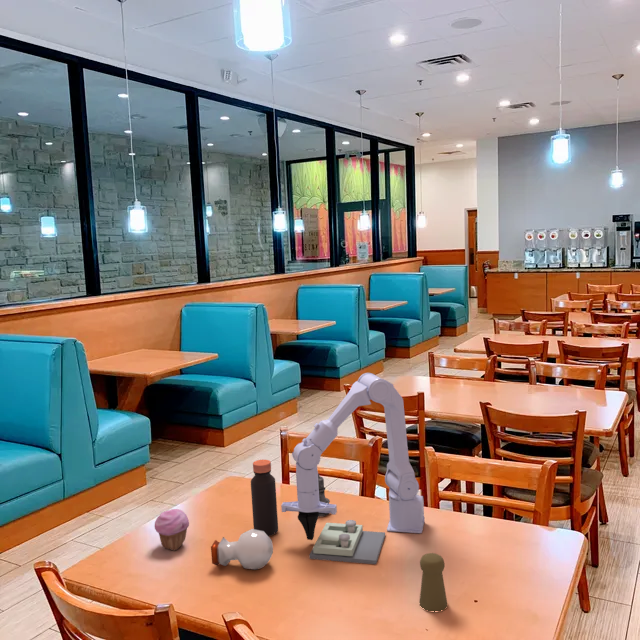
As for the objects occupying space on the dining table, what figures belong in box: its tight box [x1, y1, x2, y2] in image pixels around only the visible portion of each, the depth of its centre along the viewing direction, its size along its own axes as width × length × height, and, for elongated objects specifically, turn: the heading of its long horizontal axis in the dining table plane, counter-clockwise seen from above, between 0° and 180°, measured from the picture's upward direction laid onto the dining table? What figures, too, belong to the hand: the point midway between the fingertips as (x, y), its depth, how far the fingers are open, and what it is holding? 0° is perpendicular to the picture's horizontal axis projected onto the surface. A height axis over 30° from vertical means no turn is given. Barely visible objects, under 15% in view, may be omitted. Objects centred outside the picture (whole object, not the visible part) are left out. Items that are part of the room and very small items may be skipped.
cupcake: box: [154, 508, 190, 551], centre depth 166 cm, size 9×9×10 cm
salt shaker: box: [318, 473, 331, 518], centre depth 182 cm, size 6×6×12 cm
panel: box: [312, 522, 364, 556], centre depth 162 cm, size 10×14×2 cm
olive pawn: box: [419, 552, 448, 613], centre depth 133 cm, size 6×6×11 cm
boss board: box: [308, 519, 386, 565], centre depth 161 cm, size 17×15×5 cm
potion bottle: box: [210, 528, 274, 571], centre depth 153 cm, size 9×10×15 cm
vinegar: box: [250, 459, 279, 537], centre depth 171 cm, size 7×7×20 cm
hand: (310, 538), depth 164 cm, fingers closed
